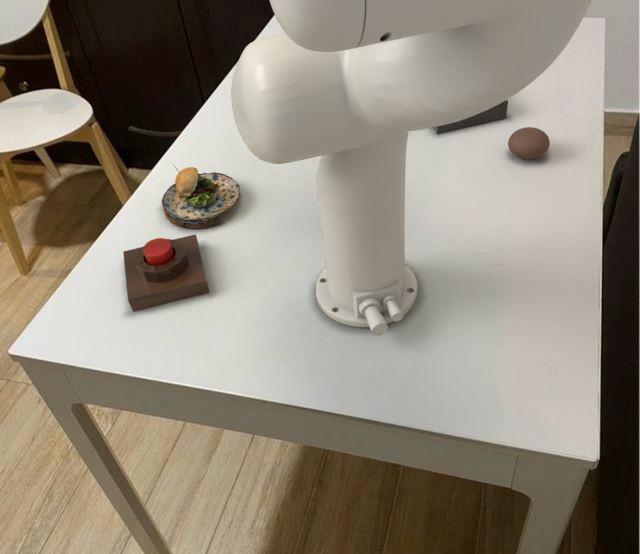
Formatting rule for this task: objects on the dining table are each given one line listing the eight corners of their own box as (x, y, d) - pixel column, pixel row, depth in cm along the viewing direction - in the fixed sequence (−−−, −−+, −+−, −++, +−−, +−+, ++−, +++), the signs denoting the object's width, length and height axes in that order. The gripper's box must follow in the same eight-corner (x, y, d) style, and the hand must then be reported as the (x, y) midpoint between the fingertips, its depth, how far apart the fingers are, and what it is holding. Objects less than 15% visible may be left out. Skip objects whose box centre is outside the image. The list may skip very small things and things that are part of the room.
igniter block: (209, 293, 85) (202, 269, 82) (132, 312, 84) (123, 289, 81) (199, 246, 92) (192, 223, 89) (128, 263, 90) (118, 240, 88)
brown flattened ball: (553, 150, 100) (558, 126, 97) (537, 170, 97) (541, 145, 94) (516, 140, 102) (520, 117, 99) (499, 159, 99) (502, 135, 96)
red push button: (175, 262, 84) (172, 252, 83) (147, 269, 84) (143, 258, 82) (172, 245, 86) (169, 235, 85) (145, 252, 86) (141, 241, 85)
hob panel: (506, 118, 107) (508, 100, 105) (437, 134, 106) (438, 116, 103) (480, 91, 114) (481, 73, 112) (415, 105, 112) (415, 88, 110)
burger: (227, 232, 93) (216, 188, 88) (151, 226, 96) (136, 183, 90) (252, 183, 101) (244, 140, 95) (181, 179, 103) (169, 136, 98)
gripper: (344, -153, 60) (355, 48, 73) (304, -180, 70) (319, 1, 83) (264, -139, 59) (289, 62, 72) (235, -168, 69) (262, 12, 82)
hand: (305, 29), depth 77 cm, fingers closed
